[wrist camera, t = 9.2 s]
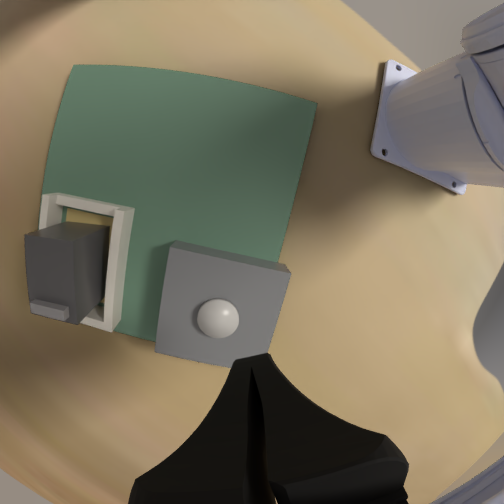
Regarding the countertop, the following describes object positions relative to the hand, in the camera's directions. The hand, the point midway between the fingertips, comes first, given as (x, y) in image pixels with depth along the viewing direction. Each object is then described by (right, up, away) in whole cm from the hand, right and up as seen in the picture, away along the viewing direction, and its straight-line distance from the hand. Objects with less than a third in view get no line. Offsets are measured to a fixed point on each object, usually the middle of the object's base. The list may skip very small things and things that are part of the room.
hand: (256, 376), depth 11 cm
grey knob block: (-2, +2, +10) cm, 10 cm away
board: (-6, +8, +8) cm, 13 cm away
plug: (-11, +4, +7) cm, 14 cm away
